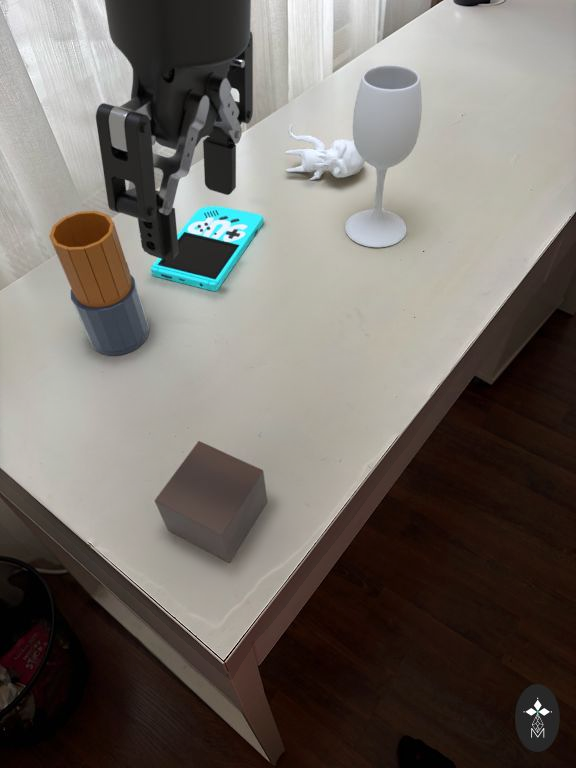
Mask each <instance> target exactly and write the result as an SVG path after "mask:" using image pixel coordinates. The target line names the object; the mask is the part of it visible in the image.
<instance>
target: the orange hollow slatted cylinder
mask: <svg viewBox="0 0 576 768" xmlns="http://www.w3.org/2000/svg"><path fill="white" fill-rule="evenodd" d="M118 234H119V233H118V231H117V227H116V225H115V222H114V221H113V219H112V218H111V217H110V215H109V214H107V213H104V212H100V211H98V210H86V211H85V210H84V211H77V212H75V213H74V212H73V213H71V214H68V215H65V216H64V217H62V218H61V219H60V220H58V221H57V222H56V223H55V224H53V226H52V228H51V230H50V233H49V235H48V236H49V240H50V242H51V244H52V246H53V249H54V251H55V253H56V256H57V258H58V260H59V263H60V265H61V268H62V269H63V272H64V275H65V277H66V280H67V282H68V284H69V286H70V290H71V289H72V291H73V293H74V295H75V297H76V299H77V300H78V301H79V302H80V303H81V304H83V305H85V306H88V307H94V308H99V307H106V306H110V305H113V304H115V303H117V302H119V301H121V300H122V299H123V298H125V297H126V296H127V294H128V293H129V292H130V290H131V286H132V281H131V276H132V275H131V276H130V274H131V271H130V268H129V265H128V262H127V260H126V257H125V254H124V250H123V247H122V243H121V240H120V237H119V235H118ZM126 262H127V263H126ZM127 265H128V266H127ZM128 268H129V269H128ZM129 271H130V272H129Z"/></svg>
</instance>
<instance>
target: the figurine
mask: <svg viewBox="0 0 576 768" xmlns="http://www.w3.org/2000/svg"><path fill="white" fill-rule="evenodd" d="M294 124H295V123H292V124H289V126H288V129H287V132H288V135H289V137H290V138H291V139H293V140H295V141H297V142H304V143H308V144H310V145H312V146H313V147H314V148H304V147H303V148H297V149H291V150H286V151H284V154H285V155H293V156H299V157H301V158H300V162H301V165H299V166H296V167H290V168H289V167H288V168H286V170H285V172H286V173H312V172H314V174H313V176H312V177H310V178H309V181H315V180H319V179H321V177H322V174H324V173H325V171H330V172H331V174H332V176H334V178H337V179H339V178H346V177H350V176H353V175H355V176H356V175H357V174H358V173H359V172H360V171H361V170H362V168H363V167H364V164H365V163H366V161H365V160H364V159H363V158H362V157H361V156H360V155H359V153H358V152H357V150H356V147H355V145H354V140H353V139H352V140H350V139H342V138H341V139H336V140H334V141H333V142H332V143H331V144H330V147H329V149H326V146H325V144H324V142H322V141H321V139H318V138H316V137H314V136H313V135H307V134H306V135H295V134H294V133H293V130H292V128H293V126H294Z"/></svg>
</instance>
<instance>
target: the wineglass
mask: <svg viewBox="0 0 576 768" xmlns="http://www.w3.org/2000/svg"><path fill="white" fill-rule="evenodd" d="M421 85H422V83H421V77H420V75H419V73H418V72H417V71H415V70H414V69H412V68H410V67H408V66H404V65H398V64H383V65H377V66H373V67H371V68H368V69H367V70H365V72H363V74H362V77H361V79H360V82H359V86H358V90H357V93H356V98H355V102H354V108H353V116H352V140H354V145H355V147H356V150H357V152H358V153H359V155H360V156H361V157H362V158H363V159H364V160H365V163H367V164H368V165H370V166H372V167H374V168H375V170H376V187H375V196H374V202H373V203H374V204H373V208H372V209H371V208H370V209H365V210H361V211H359V212H356V213H354V214H353V215H351V216H350V217H349V218H348V219H347V221H346V223H345V225H344V230H345V233H346V234H347V236H348V237H349V239H350V240H352V241H353V242H355V243H356V244H358V245H360V246H363V247H369V248H385V247H390V246H393V245H396V244H398V243H400V241H402V240H403V239H404V237H406V235H407V231H408V227H407V224H406V222H405V220H404V219H403V218H402V217H401V216H399V215H398V214H395V212H391V211H389V210H385V209H383V196H384V187H385V180H386V175H387V171H388V170H389V169H390V168H392V167H395V166H397V165H400V163H402V162H403V161H405V160H406V159H407V158H408V156H409V155H410V154H411V153H412V152H413V150H414V148H415V146H416V144H417V141H418V138H419V134H420V130H421V129H420V128H421V123H422V109H423V108H422V107H423V103H422V102H423V101H422V86H421Z"/></svg>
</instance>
